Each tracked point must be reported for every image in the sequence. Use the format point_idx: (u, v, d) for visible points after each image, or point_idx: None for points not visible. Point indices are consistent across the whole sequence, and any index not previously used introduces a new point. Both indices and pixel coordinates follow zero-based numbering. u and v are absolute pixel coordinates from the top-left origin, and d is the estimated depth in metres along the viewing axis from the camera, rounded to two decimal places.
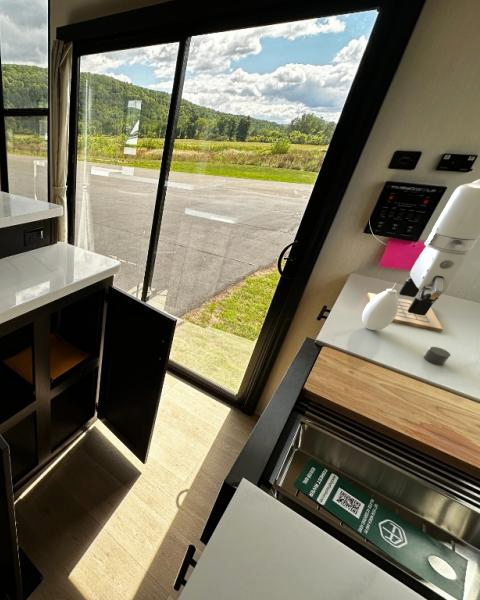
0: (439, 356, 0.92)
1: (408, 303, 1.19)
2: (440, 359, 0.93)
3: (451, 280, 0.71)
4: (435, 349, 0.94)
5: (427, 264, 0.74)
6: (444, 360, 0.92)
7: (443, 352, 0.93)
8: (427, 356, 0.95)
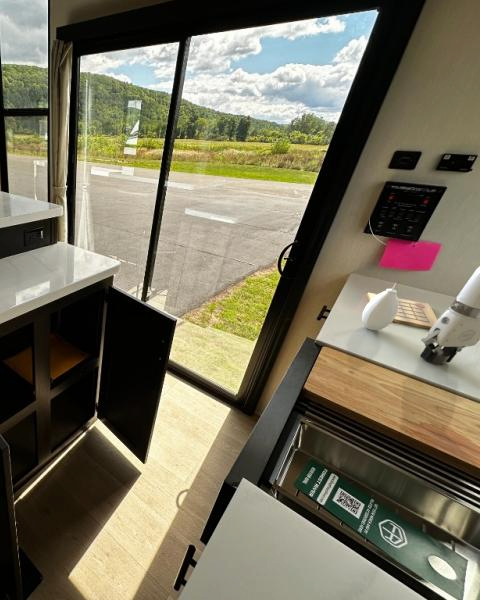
0: (439, 356, 0.92)
1: (408, 303, 1.19)
2: (440, 359, 0.93)
3: (445, 335, 0.88)
4: None
5: None
6: (444, 360, 0.92)
7: (443, 352, 0.93)
8: None
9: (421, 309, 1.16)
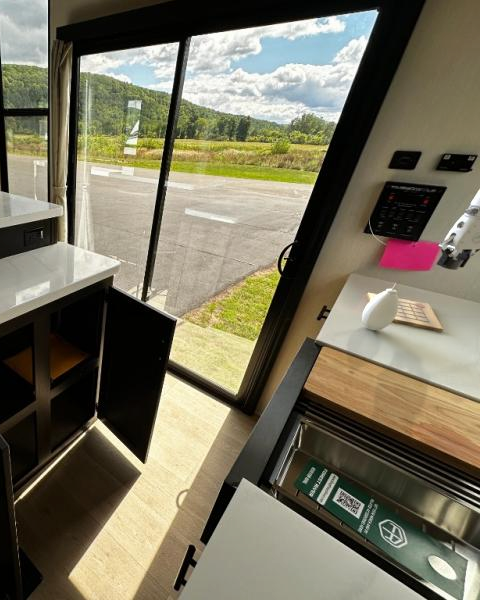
0: (454, 261, 1.03)
1: (408, 303, 1.19)
2: (455, 264, 1.04)
3: (460, 237, 0.99)
4: None
5: None
6: (458, 264, 1.04)
7: (457, 258, 1.04)
8: None
9: (421, 309, 1.16)
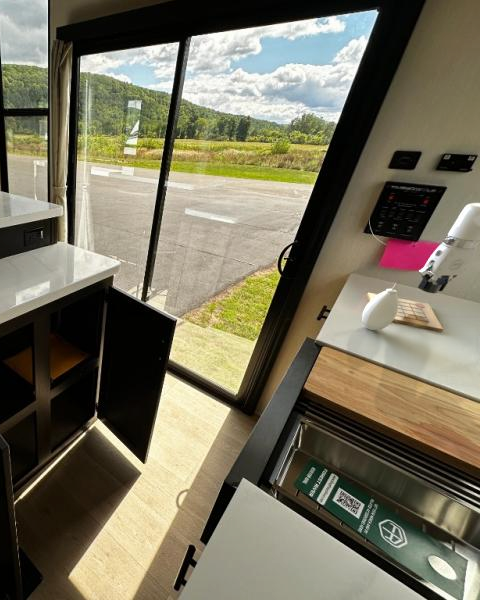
0: (433, 285, 1.12)
1: (408, 303, 1.19)
2: (434, 288, 1.12)
3: (438, 265, 1.07)
4: None
5: None
6: (437, 288, 1.12)
7: (437, 282, 1.12)
8: None
9: (421, 309, 1.16)
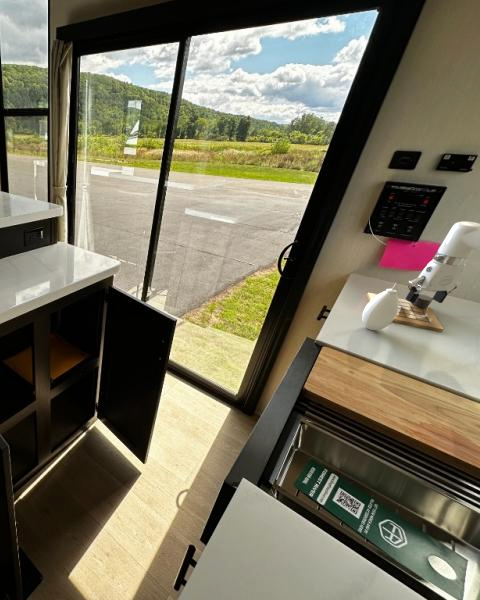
0: (423, 301, 1.15)
1: (408, 303, 1.19)
2: (424, 303, 1.15)
3: (429, 280, 1.10)
4: (421, 296, 1.17)
5: None
6: (428, 304, 1.15)
7: (427, 297, 1.16)
8: None
9: (421, 309, 1.16)
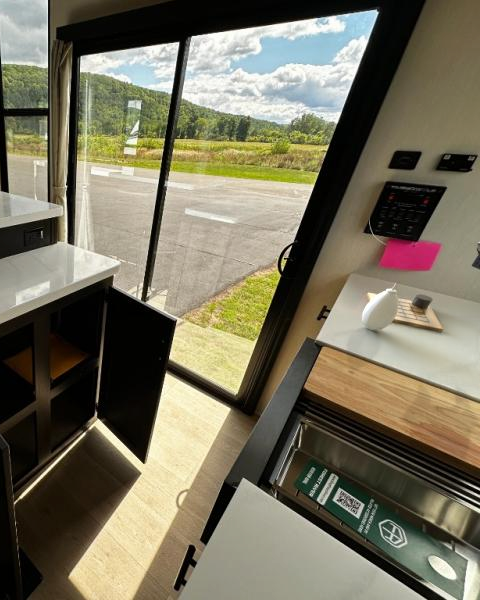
0: (423, 301, 1.15)
1: (408, 303, 1.19)
2: (424, 303, 1.15)
3: None
4: (421, 296, 1.17)
5: None
6: (428, 304, 1.15)
7: (427, 297, 1.16)
8: (414, 302, 1.17)
9: (421, 309, 1.16)
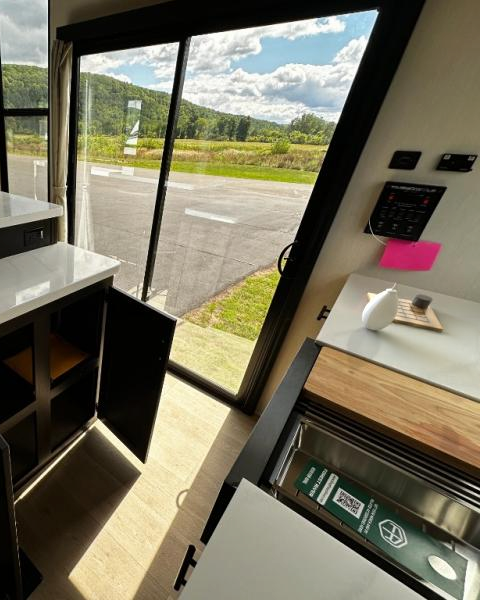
0: (423, 301, 1.15)
1: (408, 303, 1.19)
2: (424, 303, 1.15)
3: None
4: (421, 296, 1.17)
5: None
6: (428, 304, 1.15)
7: (427, 297, 1.16)
8: (414, 302, 1.17)
9: (421, 309, 1.16)
